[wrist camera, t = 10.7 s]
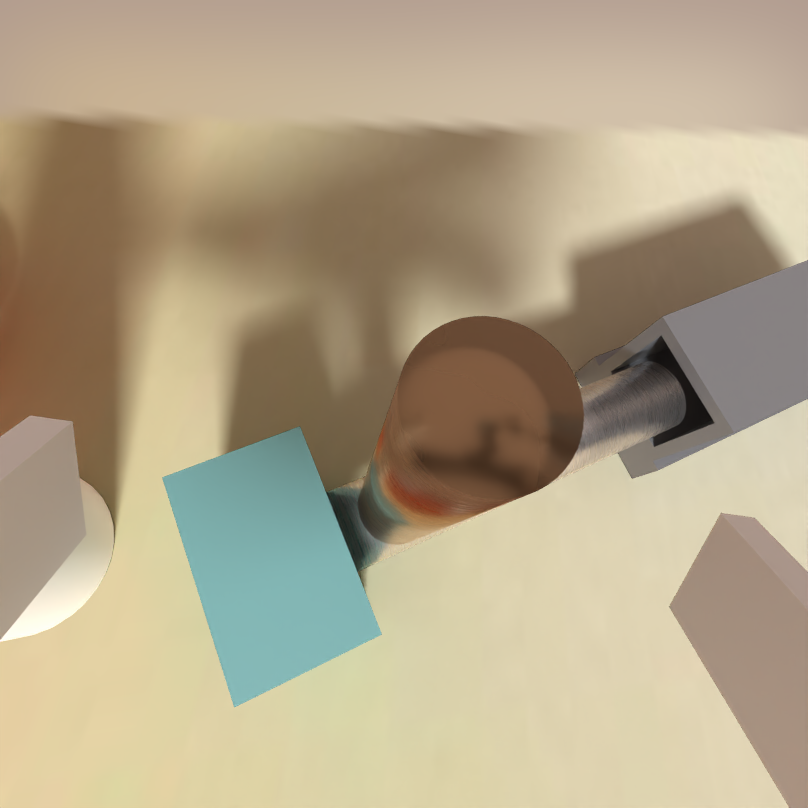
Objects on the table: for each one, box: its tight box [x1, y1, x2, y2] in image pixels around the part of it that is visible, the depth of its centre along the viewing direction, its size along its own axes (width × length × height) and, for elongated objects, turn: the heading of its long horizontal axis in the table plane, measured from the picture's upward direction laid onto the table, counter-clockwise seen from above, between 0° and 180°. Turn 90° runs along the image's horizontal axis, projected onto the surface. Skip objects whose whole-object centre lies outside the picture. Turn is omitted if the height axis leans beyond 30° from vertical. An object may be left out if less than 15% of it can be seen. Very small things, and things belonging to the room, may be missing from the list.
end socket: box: [162, 426, 382, 707], centre depth 20 cm, size 7×4×8 cm, turn 24°
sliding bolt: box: [326, 316, 686, 572], centre depth 16 cm, size 3×18×15 cm, turn 114°
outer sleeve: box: [575, 260, 808, 478], centre depth 26 cm, size 6×14×8 cm, turn 114°
